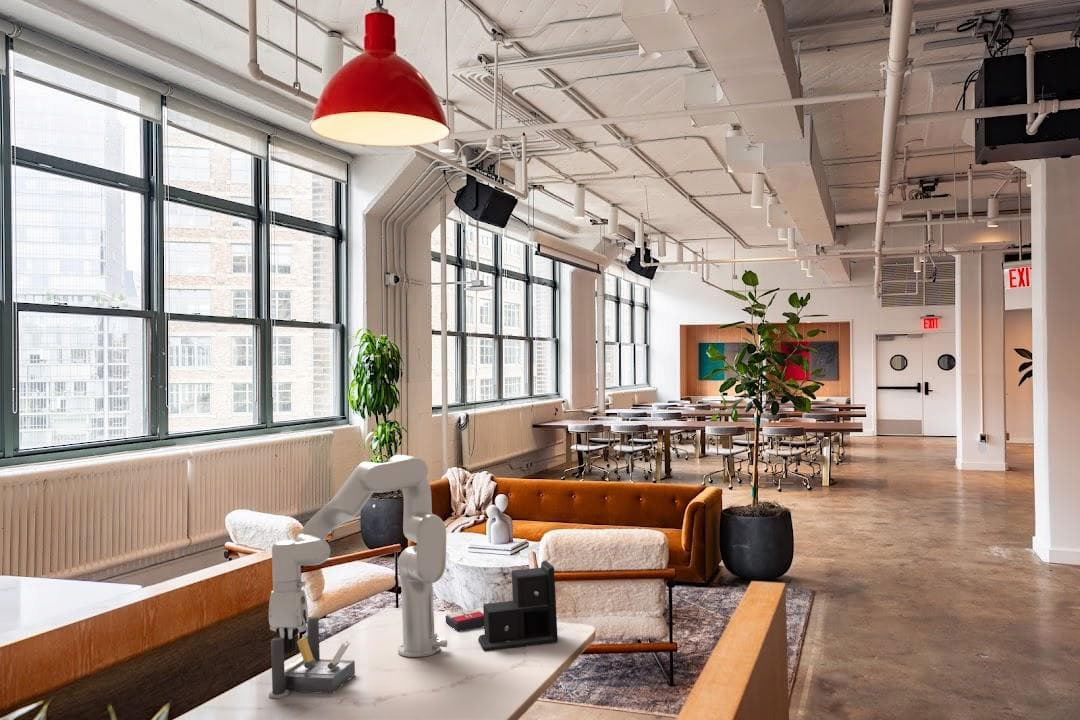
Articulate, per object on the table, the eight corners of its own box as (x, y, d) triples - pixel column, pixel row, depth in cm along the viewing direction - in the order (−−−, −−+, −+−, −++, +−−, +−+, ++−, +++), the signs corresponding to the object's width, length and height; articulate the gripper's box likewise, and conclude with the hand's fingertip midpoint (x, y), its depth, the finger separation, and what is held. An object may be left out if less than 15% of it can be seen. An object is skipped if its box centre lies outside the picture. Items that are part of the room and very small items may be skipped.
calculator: (444, 613, 287) (485, 604, 294) (445, 626, 287) (486, 616, 294) (456, 621, 277) (498, 612, 284) (457, 634, 277) (499, 624, 284)
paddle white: (337, 665, 235) (351, 643, 234) (331, 670, 232) (345, 647, 231) (332, 662, 235) (346, 639, 235) (326, 666, 232) (341, 643, 231)
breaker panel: (354, 674, 240) (354, 657, 240) (332, 693, 226) (332, 675, 226) (302, 672, 243) (302, 655, 243) (277, 690, 229) (277, 672, 229)
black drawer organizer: (483, 652, 256) (481, 573, 256) (477, 641, 267) (475, 566, 267) (558, 643, 262) (555, 567, 262) (549, 633, 272) (547, 559, 272)
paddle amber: (316, 662, 236) (306, 636, 237) (310, 667, 233) (300, 640, 234) (311, 664, 237) (302, 637, 237) (305, 668, 233) (295, 641, 234)
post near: (292, 692, 228) (290, 636, 228) (282, 699, 223) (281, 642, 223) (275, 691, 229) (273, 636, 229) (265, 698, 224) (263, 642, 224)
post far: (326, 666, 247) (324, 615, 248) (318, 672, 243) (316, 620, 243) (310, 666, 248) (308, 615, 249) (302, 672, 244) (300, 620, 244)
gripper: (318, 582, 239) (320, 648, 238) (269, 581, 242) (271, 646, 242) (305, 589, 231) (307, 657, 231) (255, 588, 235) (257, 655, 234)
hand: (289, 651), depth 236 cm, fingers closed
